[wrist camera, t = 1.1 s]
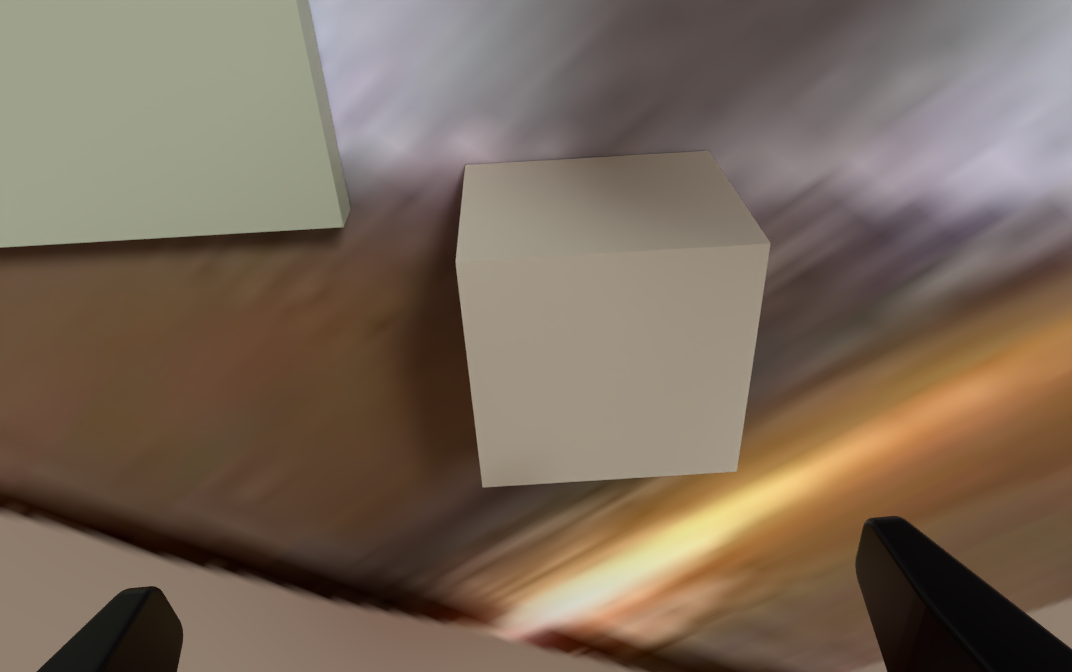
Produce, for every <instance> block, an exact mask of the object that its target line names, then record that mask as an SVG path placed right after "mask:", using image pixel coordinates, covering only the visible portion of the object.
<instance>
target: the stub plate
mask: <svg viewBox="0 0 1072 672" xmlns="http://www.w3.org/2000/svg"><path fill="white" fill-rule="evenodd" d="M349 212H350V205H349V200H348V195H347V190H346V185H345V180H344V175H343V170H342V165H341V160H340V155H339V150H338V145H337V140H336V135H335V130H334V126H333V121H332V116H331V111H330V106H329V101H328V96H327V91H326V86H325V81H324V76H323V71H322V66H321V61H320V56H319V51H318V46H317V41H316V36H315V31H314V26H313V21H312V16H311V11H310V6H309V2H308V0H0V248H1V247H18V246H35V245H52V244H69V243H85V242H102V241H119V240H136V239H153V238H170V237H187V236H204V235H220V234H237V233H254V232H271V231H288V230H305V229H322V228H339V227H344V225H345V222H346V220H347V217H348V215H349Z"/></svg>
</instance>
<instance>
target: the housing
mask: <svg viewBox="0 0 1072 672" xmlns="http://www.w3.org/2000/svg"><path fill="white" fill-rule="evenodd" d="M770 244H771V243H770V242H769V240H768V239H767V237H766V236H765V234H764V233H763V231H762V230H761V228H760V227H759V225H758V224H757V222H756V221H755V219H754V218H753V216H752V215H751V213H750V212H749V210H748V209H747V207H746V206H745V204H744V203H743V201H742V200H741V198H740V197H739V195H738V194H737V192H736V191H735V189H734V188H733V186H732V185H731V183H730V182H729V180H728V179H727V177H726V176H725V174H724V173H723V171H722V170H721V168H720V167H719V165H718V164H717V162H716V161H715V159H714V158H713V156H712V155H711V153H710V152H709V151H695V152H678V153H661V154H644V155H627V156H610V157H592V158H575V159H558V160H541V161H524V162H507V163H490V164H473V165H465V173H464V182H463V192H462V202H461V212H460V222H459V232H458V242H457V252H456V262H455V263H456V271H457V279H458V288H459V296H460V304H461V313H462V321H463V329H464V338H465V346H466V354H467V363H468V371H469V379H470V387H471V396H472V404H473V412H474V421H475V429H476V437H477V446H478V454H479V462H480V471H481V479H482V487H498V486H514V485H530V484H546V483H562V482H578V481H594V480H610V479H625V478H641V477H657V476H673V475H689V474H705V473H721V472H737V466H738V459H739V452H740V446H741V439H742V432H743V426H744V419H745V412H746V405H747V399H748V392H749V385H750V378H751V372H752V365H753V358H754V352H755V345H756V338H757V331H758V325H759V318H760V311H761V305H762V298H763V291H764V284H765V278H766V271H767V264H768V257H769V251H770Z"/></svg>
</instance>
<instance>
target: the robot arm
mask: <svg viewBox="0 0 1072 672" xmlns="http://www.w3.org/2000/svg"><path fill="white" fill-rule="evenodd" d="M855 569H856V575H857V579H858V583H859V586H860V589H861V592H862V595H863V598H864V601H865V604H866V607H867V610H868V613H869V616H870V619H871V623H872V626H873V629H874V632H875V635H876V638H877V641H878V644H879V647H880V650H881V653H882V656H883V660H884V663H885V666H886V668H887V672H1072V649H1071V648H1070V647H1068V646H1067V645H1066V644H1064V643H1063V642H1062V641H1061V640H1059V639H1058V638H1057V637H1055V636H1054V635H1053V634H1052V633H1050V632H1049V631H1048V630H1046V629H1045V628H1044V627H1043V626H1041V625H1040V624H1039V623H1037V622H1036V621H1035V620H1034V619H1032V618H1031V617H1030V616H1029V615H1027V614H1026V613H1025V612H1023V611H1022V610H1021V609H1020V608H1018V607H1017V606H1016V605H1014V604H1013V603H1012V602H1011V601H1009V600H1008V599H1007V598H1005V597H1004V596H1003V595H1002V594H1000V593H999V592H998V591H996V590H995V589H994V588H993V587H991V586H990V585H989V584H987V583H986V582H985V581H984V580H982V579H981V578H980V577H979V576H977V575H976V574H975V573H973V572H972V571H971V570H970V569H968V568H967V567H966V566H964V565H963V564H962V563H961V562H959V561H958V560H957V559H955V558H954V557H953V556H952V555H950V554H949V553H948V552H946V551H945V550H944V549H943V548H941V547H940V546H939V545H938V544H936V543H935V542H934V541H932V540H931V539H930V538H929V537H927V536H926V535H925V534H923V533H922V532H921V531H920V530H918V529H917V528H916V527H914V526H913V525H912V524H911V523H909V522H908V521H907V520H905V519H903V518H901V517H898V516H888V517H877V518H870V519H868V520H867V521H866V522H865V523H864V525H863V529H862V533H861V538H860V542H859V546H858V551H857V555H856V560H855ZM182 643H183V629H182V625H181V622H180V620H179V619H178V617H177V615H176V614H175V612H174V610H173V609H172V607H171V605H170V604H169V602H168V601H167V599H166V597H165V595H164V594H163V592H162V591H161V590H160V589H159V588H157V587H153V586H149V587H139V588H130V589H126V590H124V591H122V592H120V593H119V594H117V595H116V596H115V597H114V598H113V599H112V600H111V601H110V602H109V603H108V604H107V605H106V606H105V607H104V608H103V609H102V610H101V611H100V612H98V613H97V614H96V615H95V616H94V617H93V618H92V619H91V620H90V621H89V622H88V623H87V624H86V625H85V626H84V627H83V628H82V629H81V630H80V631H79V632H78V633H76V635H75V636H74V637H72V638H71V639H70V640H69V641H68V642H67V643H66V644H65V645H64V646H63V647H62V648H61V649H60V650H59V651H58V652H57V653H56V654H55V655H54V656H53V657H52V658H50V659H49V660H48V661H47V662H46V663H45V664H44V665H43V666H42V667H41V668H40V669H39V670H38V671H37V672H177V668H178V663H179V658H180V653H181V648H182Z"/></svg>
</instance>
